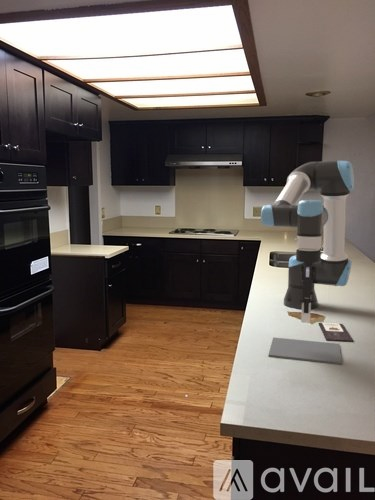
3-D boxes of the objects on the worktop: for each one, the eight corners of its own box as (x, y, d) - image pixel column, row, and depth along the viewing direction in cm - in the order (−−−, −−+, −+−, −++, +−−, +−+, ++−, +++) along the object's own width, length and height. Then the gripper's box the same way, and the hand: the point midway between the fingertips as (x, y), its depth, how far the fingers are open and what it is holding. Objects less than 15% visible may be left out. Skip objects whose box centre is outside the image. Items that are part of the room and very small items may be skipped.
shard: (286, 315, 138) (286, 310, 138) (303, 312, 142) (303, 307, 142) (310, 324, 129) (310, 319, 129) (327, 321, 133) (328, 315, 132)
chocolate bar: (326, 339, 144) (318, 322, 161) (326, 341, 144) (318, 325, 162) (353, 340, 142) (342, 323, 160) (353, 343, 143) (342, 326, 160)
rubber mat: (273, 338, 146) (273, 337, 146) (338, 345, 139) (338, 343, 139) (268, 356, 131) (268, 354, 131) (341, 364, 124) (341, 362, 124)
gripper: (297, 244, 141) (295, 308, 144) (294, 253, 121) (292, 327, 125) (320, 245, 139) (317, 310, 142) (321, 254, 119) (318, 329, 123)
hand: (305, 318), depth 133 cm, fingers closed on shard, 8 cm apart
